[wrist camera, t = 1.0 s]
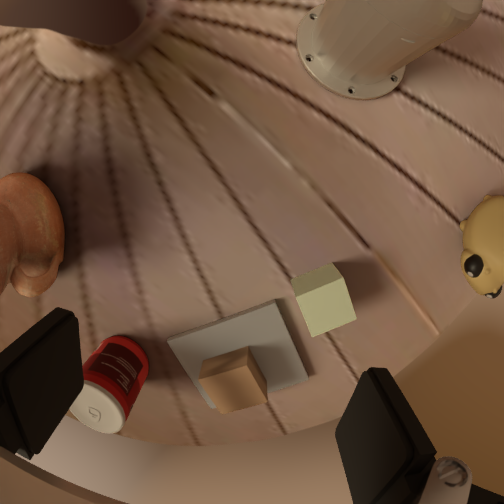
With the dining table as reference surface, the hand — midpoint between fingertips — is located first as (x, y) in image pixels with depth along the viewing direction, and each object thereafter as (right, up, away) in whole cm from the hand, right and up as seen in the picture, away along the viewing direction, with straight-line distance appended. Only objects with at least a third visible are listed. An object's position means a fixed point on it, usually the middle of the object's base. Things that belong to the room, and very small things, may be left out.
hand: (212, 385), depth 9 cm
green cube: (+9, 0, +26) cm, 27 cm away
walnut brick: (-1, -11, +28) cm, 30 cm away
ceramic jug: (-27, +7, +25) cm, 37 cm away
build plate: (0, -9, +28) cm, 30 cm away
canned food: (-16, -10, +29) cm, 35 cm away
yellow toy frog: (+30, +6, +24) cm, 39 cm away
